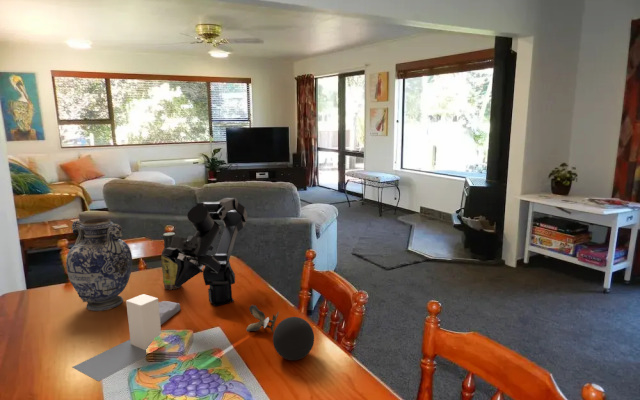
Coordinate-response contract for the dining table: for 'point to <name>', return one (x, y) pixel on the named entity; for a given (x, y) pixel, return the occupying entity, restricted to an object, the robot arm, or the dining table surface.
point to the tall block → (143, 320)
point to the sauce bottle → (168, 264)
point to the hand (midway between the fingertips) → (176, 286)
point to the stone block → (167, 310)
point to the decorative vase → (99, 263)
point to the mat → (111, 361)
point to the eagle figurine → (262, 322)
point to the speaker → (293, 338)
